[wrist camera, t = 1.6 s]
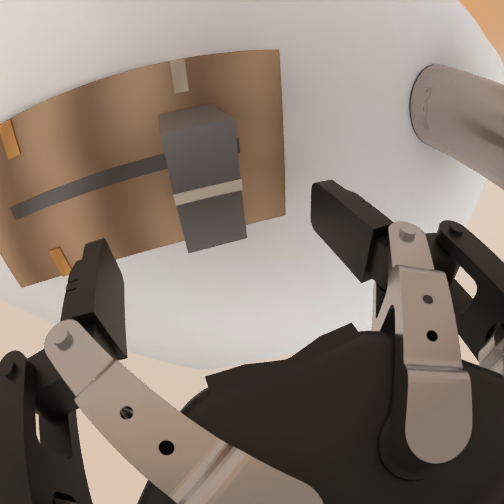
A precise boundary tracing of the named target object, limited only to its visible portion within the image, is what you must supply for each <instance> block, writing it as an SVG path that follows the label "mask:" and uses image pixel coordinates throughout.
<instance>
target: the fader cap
mask: <svg viewBox="0 0 504 504" xmlns="http://www.w3.org/2000/svg"><path fill="white" fill-rule="evenodd" d="M158 116H159V125H160V134H161V139H162V144H163V149H164V154H165V159H166V163H167V168H168V172H169V177H170V181H171V185H172V190H173V194H174V195H173V196H174V200H175V205H176V207H177V211H178V215H179V219H180V223H181V227H182V230H183V234H184V238H185V242H186V246H187V249H188V253H192V252H195V251H199V250H203V249H207V248H210V247H214V246H218V245H222V244H226V243H229V242H233V241H237V240H241V239H245V238H247V234H246V225H245V216H244V206H243V197H242V190H243V187H242V180H241V178H240V168H239V159H238V149H237V140H236V130H235V120H234V119H233V118H232V117H230V116H229V115H227V114H226V113H224V112H223V111H221V110H219V109H218V108H216V107H215V106H213V105H212V104H210V105H204V106H199V107H193V108H188V109H183V110H179V111H174V112H170V113H165V114H161V115H158Z"/></svg>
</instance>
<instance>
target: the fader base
mask: <svg viewBox="0 0 504 504" xmlns="http://www.w3.org/2000/svg"><path fill="white" fill-rule="evenodd" d="M210 104H212V105H213V106H215V107H216V108H218V109H219V110H221V111H223V112H224V113H226V114H227V115H229V116H230V117H232V118H233V119H234V120H235V130H236V140H237V149H238V159H239V168H240V178H241V180H242V187H243V190H242V197H243V206H244V216H245V225H247V224H251V223H255V222H259V221H263V220H267V219H271V218H275V217H280V216H284V215H285V167H284V135H283V111H282V91H281V73H280V57H279V50H253V51H239V52H228V53H218V54H210V55H203V56H196V57H190V58H183V59H178V60H173V61H168V62H163V63H159V64H154V65H150V66H146V67H142V68H138V69H134V70H130V71H126V72H123V73H119V74H116V75H113V76H110V77H106V78H103V79H100V80H97V81H94V82H92V83H89V84H86V85H83V86H81V87H78V88H75V89H73V90H70V91H68V92H65V93H63V94H60V95H58V96H56V97H53V98H51V99H49V100H47V101H45V102H42V103H40V104H38V105H36V106H34V107H32V108H30V109H28V110H26V111H24V112H22V113H20V114H18V115H16V116H15V117H13V118H11V119H9V120H7V121H5V122H4V123H2V124H0V254H1V256H2V258H3V259H4V261H5V263H6V264H7V266H8V268H9V269H10V271H11V272H12V274H13V275H14V277H15V279H16V280H17V282H18V283H19V285H20V286H21V288H23V287H26V286H29V285H32V284H36V283H39V282H42V281H45V280H48V279H52V278H55V277H58V276H61V275H62V276H67V275H69V274H70V271H71V269H72V268H73V266H74V264H75V263H76V261H78V260H81V259H82V255H83V251H84V246H85V244H87V243H90V242H93V241H96V240H99V239H102V238H105V239H106V241H107V243H108V245H109V247H110V249H111V252H112V254H113V256H114V258H115V260H116V259H119V258H123V257H126V256H130V255H133V254H137V253H140V252H144V251H148V250H151V249H155V248H158V247H162V246H166V245H170V244H173V243H177V242H181V241H184V240H185V238H184V234H183V230H182V227H181V223H180V219H179V215H178V211H177V207H176V205H175V200H174V196H173V195H174V194H173V190H172V185H171V181H170V177H169V172H168V168H167V163H166V159H165V154H164V149H163V144H162V139H161V134H160V125H159V116H158V115H161V114H165V113H170V112H174V111H179V110H183V109H188V108H193V107H199V106H204V105H210Z"/></svg>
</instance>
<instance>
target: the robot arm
mask: <svg viewBox="0 0 504 504" xmlns="http://www.w3.org/2000/svg"><path fill="white" fill-rule="evenodd" d="M411 119H412V123H413V127H414V130H415V132H416V134H417V136H418V137H419V138H420V139H421V140H422V141H423V142H424V143H426V144H428V145H430V146H432V147H434V148H436V149H438V150H439V151H441V152H443V153H445V154H447V155H449V156H451V157H452V158H454V159H456V160H457V161H459V162H461V163H463V164H464V165H466V166H468V167H469V168H471V169H473V170H474V171H476V172H477V173H479V174H481V175H482V176H484V177H485V178H487V179H488V180H490V181H492V182H493V183H494V184H496V185H498V186H499V187H500V188H502V189H503V190H504V85H502V84H499V83H497V82H494V81H491V80H488V79H485V78H483V77H480V76H476V75H473V74H470V73H467V72H464V71H460V70H457V69H453V68H449V67H445V66H441V65H431V66H429V67H427V68H426V69H425V70H423V71H422V73H421V74H420V75H419V77H418V78H417V81H416V83H415V85H414V88H413V92H412V97H411ZM311 223H312V226H313V228H314V230H315V232H316V233H317V234H318V235H319V236H320V237H321V238H322V239H323V240H324V242H325V243H326V244H327V245H328V246H329V247H330V248H331V249H332V250H333V251H334V253H335V254H336V255H337V256H338V257H339V258H340V259H341V260H342V261H343V263H344V264H345V265H346V266H347V267H348V268H349V269H350V271H351V272H352V273H353V274H354V275H355V276H356V277H357V279H358V280H359V281H360V282H361V283H363V282H365V281H368V280H370V279H374V280H375V283H374V287H373V317H372V329H371V331H360V332H358V331H357V329H356V328H355V327H354V325H353V324H352V323H350V324H348V325H345V326H343V327H341V328H338V329H336V330H334V331H332V332H329V333H327V334H324V335H322V336H320V337H318V338H317V339H316V340H314V341H313V342H312V343H310V344H309V345H307V346H306V347H305V348H303V349H302V350H300V351H299V352H298V353H297V354H295V355H293V356H292V357H290V358H288V359H286V360H280V361H272V362H264V363H255V364H245V365H241V366H238V367H235V368H232V369H229V370H226V371H222V372H219V373H216V374H212V375H209V376H206V377H205V378H206V381H207V384H208V388H206V389H204V390H203V391H201V392H200V393H198V394H197V395H196V396H194V397H193V398H192V399H191V400H190V401H189V402H188V403H187V404H186V405H185V406H184V408H183V409H182V410H181V411H178V410H177V409H176V408H174V407H173V406H171V405H170V404H169V403H168V402H166V401H165V400H164V399H163V398H161V397H160V396H159V395H157V394H156V393H155V392H154V391H153V390H151V389H150V388H149V387H147V385H145V384H144V383H143V382H142V381H141V380H139V379H138V378H137V377H136V376H135V375H134V374H133V373H131V372H130V371H129V370H128V369H127V368H126V367H124V365H123V364H122V363H120V362H119V361H118V360H122V359H126V358H127V346H126V330H125V305H124V281H123V277H122V274H121V271H120V269H119V267H118V265H117V263H116V260H115V258H114V256H113V254H112V252H111V249H110V247H109V245H108V243H107V241H106V239H105V238H102V239H99V240H96V241H93V242H90V243H87V244H85V246H84V251H83V255H82V259H81V260H78V261H76V263H75V264H74V266H73V268H72V269H71V271H70V274H69V278H68V284H67V287H66V293H65V298H64V303H63V309H62V315H61V321H60V322H59V323H58V324H56V325H55V326H54V327H53V328H52V329H51V330H50V331H49V333H48V335H47V337H46V339H45V343H44V349H43V350H41V351H40V352H38V353H36V354H35V355H33V356H31V357H30V358H28V359H27V358H26V357H25V356H24V355H23V354H22V353H21V352H20V351H11V352H9V353H8V354H6V355H5V356H4V357H3V359H2V360H1V362H0V504H93V503H92V499H91V496H90V492H89V488H88V484H87V479H86V475H85V470H84V465H83V459H82V454H81V448H80V441H79V434H78V427H77V418H76V409H78V408H80V409H81V410H82V412H83V413H84V414H85V415H86V416H87V418H88V419H89V420H90V421H91V422H92V424H93V425H94V426H95V427H96V428H97V429H98V430H99V432H101V434H102V435H103V436H104V437H105V438H106V439H107V440H108V441H109V442H110V443H111V444H112V446H113V447H114V448H116V450H117V451H118V452H119V453H120V454H121V455H122V456H123V457H124V458H125V459H126V460H127V461H129V462H130V463H131V464H132V465H133V466H134V467H135V468H136V469H137V470H138V471H139V472H140V473H142V474H143V475H144V476H145V477H146V478H147V479H148V481H147V483H146V486H145V488H144V490H143V492H142V494H141V497H140V499H139V501H138V503H137V504H504V263H503V262H502V261H501V260H500V259H499V258H498V257H497V256H496V255H495V254H494V253H493V252H492V251H491V250H490V249H489V248H488V247H487V246H485V244H483V243H482V242H481V241H480V240H479V239H478V238H477V237H475V236H474V235H473V234H472V233H471V232H470V231H469V230H467V229H466V228H465V227H464V226H462V225H461V224H459V223H457V222H454V221H449V220H446V221H442V222H441V223H440V225H439V228H438V231H437V233H427V234H425V233H424V232H423V231H422V230H421V229H420V228H419V227H417V226H416V225H414V224H411V223H408V222H392V221H391V220H390V219H389V218H387V217H386V216H385V215H384V214H382V213H381V212H380V211H379V210H377V209H376V208H375V207H372V205H371V204H370V203H368V202H367V201H365V200H364V199H363V198H362V197H360V196H359V195H358V194H356V193H354V192H351V191H349V190H346V189H344V188H343V187H341V186H340V185H339V184H337V183H336V182H335V181H333V180H327V181H322V182H317V183H314V184H313V185H312V190H311ZM460 266H461V267H462V268H463V269H464V270H465V271H466V272H467V273H468V274H469V275H470V276H471V277H472V278H473V279H474V280H475V282H476V285H477V293H476V295H475V297H474V298H473V299H472V298H471V296H470V295H469V294H468V293H467V292H466V291H465V290H464V289H463V287H462V286H461V285H460V284H459V283H458V282H457V281H456V280H455V279H454V278H455V276H456V273H457V271H458V269H459V267H460ZM458 334H459V335H460V336H461V338H462V339H463V341H464V342H465V343H466V344H467V346H468V347H469V349H470V350H471V352H472V353H473V354H474V356H475V357H476V358H477V360H478V361H479V364H480V365H479V366H478V365H475V364H472V363H470V362H467V361H464V360H461V353H460V345H459V338H458ZM35 413H36V414H38V415H39V430H40V443H39V441H38V438H37V435H36V422H35V421H36V420H35Z"/></svg>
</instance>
